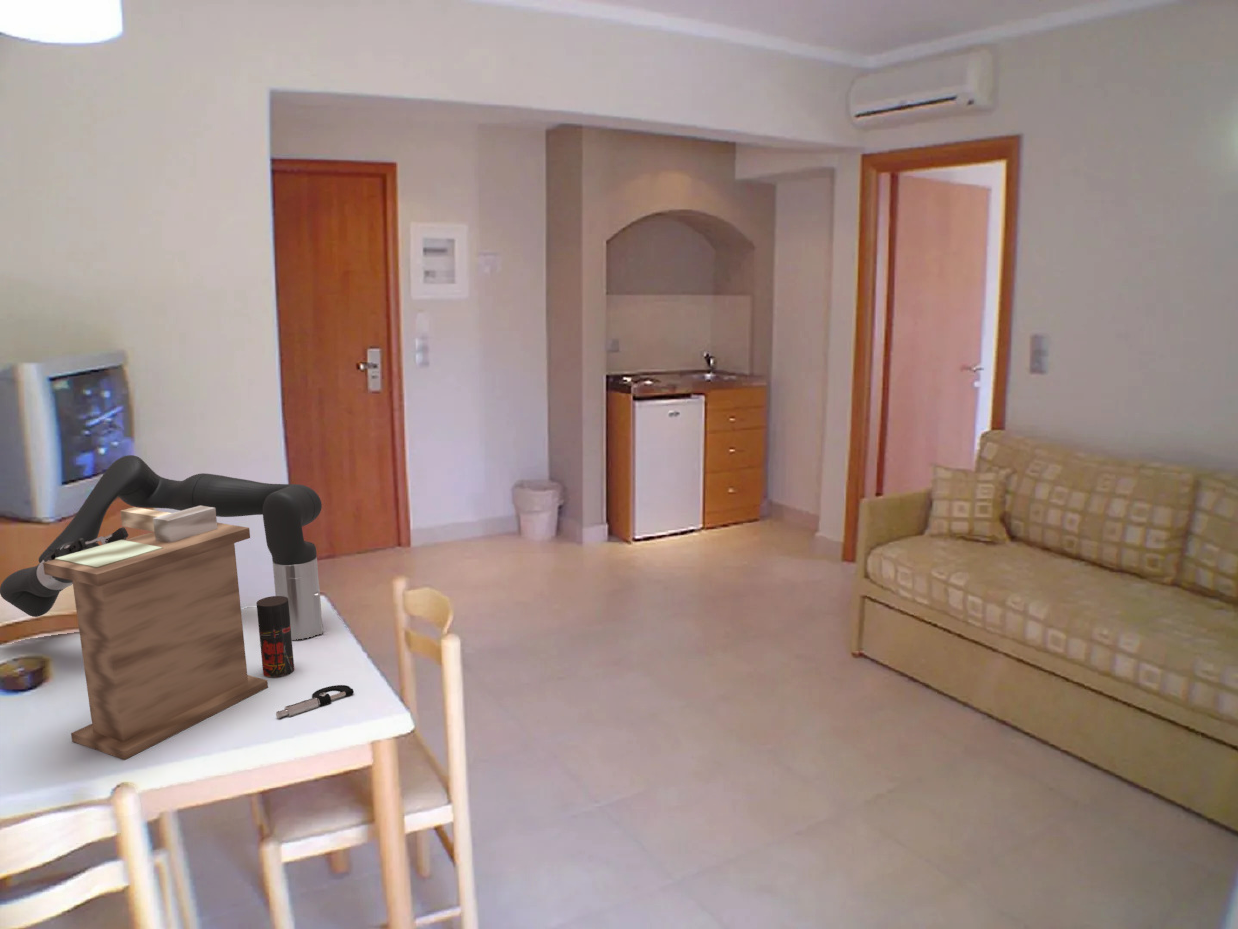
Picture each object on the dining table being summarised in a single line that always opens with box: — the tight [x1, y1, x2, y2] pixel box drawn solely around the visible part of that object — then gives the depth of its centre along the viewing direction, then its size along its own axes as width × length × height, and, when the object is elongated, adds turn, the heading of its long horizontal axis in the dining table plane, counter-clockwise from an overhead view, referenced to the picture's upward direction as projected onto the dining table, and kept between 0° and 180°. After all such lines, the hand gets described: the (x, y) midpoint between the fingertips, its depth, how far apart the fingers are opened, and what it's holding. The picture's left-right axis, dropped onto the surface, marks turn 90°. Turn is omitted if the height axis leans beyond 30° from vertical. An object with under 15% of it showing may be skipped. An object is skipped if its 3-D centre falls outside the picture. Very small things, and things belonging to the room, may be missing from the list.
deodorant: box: [256, 595, 295, 679], centre depth 183 cm, size 6×6×15 cm
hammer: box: [119, 506, 218, 543], centre depth 170 cm, size 18×10×4 cm, turn 64°
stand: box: [43, 522, 269, 761], centre depth 164 cm, size 15×30×32 cm, turn 153°
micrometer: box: [275, 684, 354, 720], centre depth 171 cm, size 15×7×2 cm, turn 132°
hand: (104, 537), depth 179 cm, fingers open, 8 cm apart
